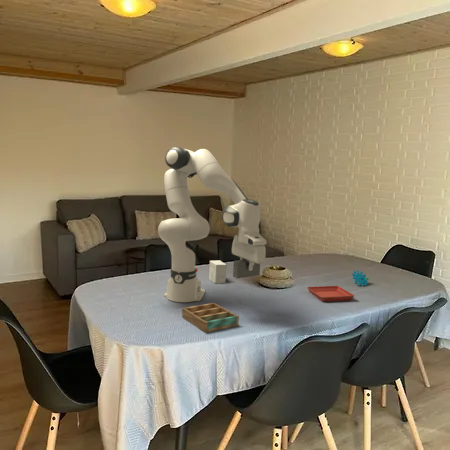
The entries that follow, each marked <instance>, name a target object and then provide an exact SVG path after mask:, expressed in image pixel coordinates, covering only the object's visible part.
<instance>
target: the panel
mask: <svg viewBox="0 0 450 450" xmlns="http://www.w3.org/2000/svg"><path fill="white" fill-rule="evenodd" d="M249 264H250V263H249V260H247V259H245V260H240V259H238V260H233V268H232V277H233V278H235V279H242V278H251V277H256V276H257V277H258V276H260V271H261V263H259V264H257V263H254V265H253V270H251V271H249V270H247V266H249Z"/></svg>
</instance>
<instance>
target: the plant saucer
mask: <svg viewBox="0 0 450 450" xmlns="http://www.w3.org/2000/svg"><path fill="white" fill-rule="evenodd" d="M306 288H307V291H308V292H309V293H310V294H311V293H312V294H311V295H313V296H314V297H316V298H317V299H319V300H320V301H321V302H325V303H326V302H344V301H351V299H353V298H354V297H355V295H354V294H353V293H351V292H349V291H348V290H346V289H344V288H343V287H341V286H339V285H327V286H326V285H321V286H306Z"/></svg>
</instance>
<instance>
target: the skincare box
mask: <svg viewBox="0 0 450 450" xmlns="http://www.w3.org/2000/svg"><path fill="white" fill-rule="evenodd" d="M208 268H209V271H208V272H209V273H208V280H210V281H211V282H212V283H214V284H226V279H227V278H226V277H227V264H226V263H225V262H223V261H222V260H220V259H219V260H209V267H208Z"/></svg>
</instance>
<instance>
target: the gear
mask: <svg viewBox="0 0 450 450" xmlns="http://www.w3.org/2000/svg"><path fill="white" fill-rule="evenodd" d="M363 273H364V272H363V271H360V270H359V269H357V270H354V271H353V273H351V276H352V278H351V279H352V280H353V281H354V282H353V283H354V284H357V286H360V287H362V286H363V287H364V286H365V287H366V286H367V285H368V283H369V281H368V280H369V279H370V277H369V276H367V275H366V274H363Z"/></svg>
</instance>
